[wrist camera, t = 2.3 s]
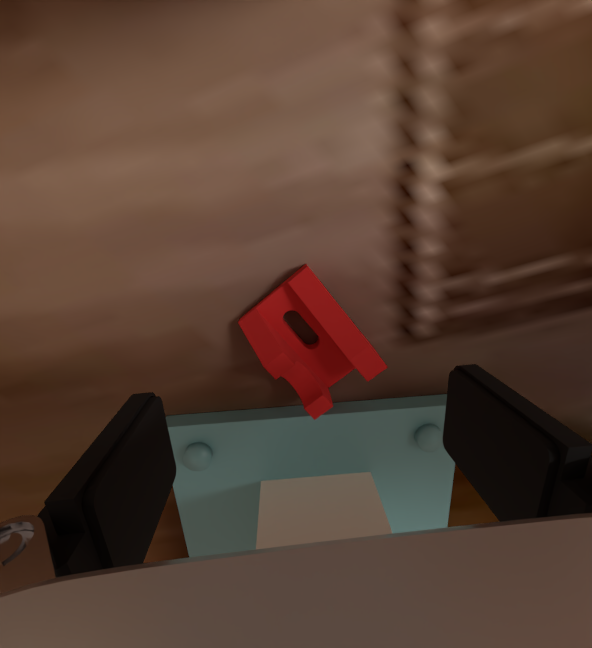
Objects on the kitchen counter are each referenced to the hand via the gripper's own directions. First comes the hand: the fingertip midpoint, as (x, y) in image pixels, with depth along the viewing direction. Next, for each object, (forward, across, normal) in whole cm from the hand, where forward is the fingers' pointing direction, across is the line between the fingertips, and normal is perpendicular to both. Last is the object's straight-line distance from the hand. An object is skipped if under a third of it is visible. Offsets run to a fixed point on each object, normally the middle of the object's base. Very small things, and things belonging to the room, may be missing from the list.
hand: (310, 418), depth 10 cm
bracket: (+9, -1, 0) cm, 9 cm away
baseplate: (+8, -1, +13) cm, 15 cm away
